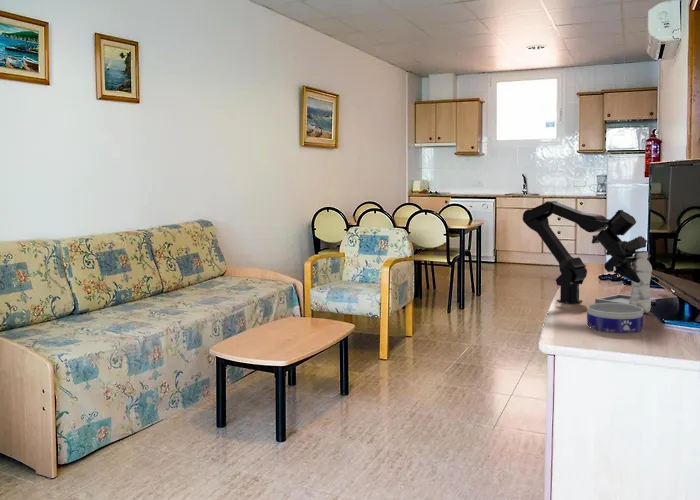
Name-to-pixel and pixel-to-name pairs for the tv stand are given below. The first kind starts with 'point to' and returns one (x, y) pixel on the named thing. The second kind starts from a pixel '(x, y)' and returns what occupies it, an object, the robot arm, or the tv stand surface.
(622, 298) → the grey tray
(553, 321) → the tv stand surface
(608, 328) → the dog bowl
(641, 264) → the plastic bottle
